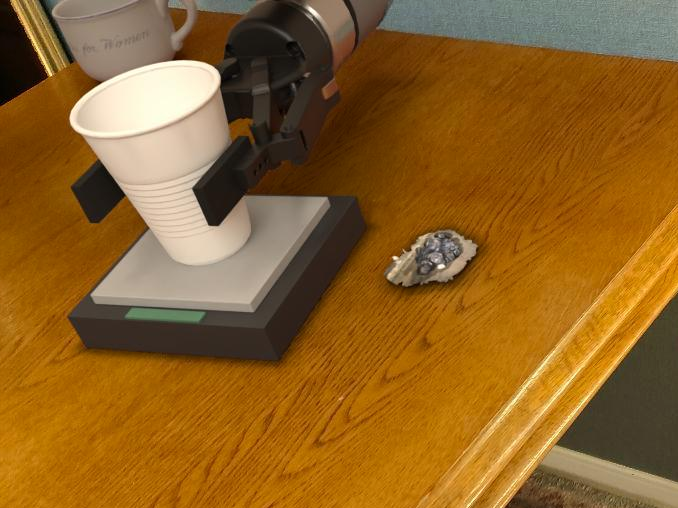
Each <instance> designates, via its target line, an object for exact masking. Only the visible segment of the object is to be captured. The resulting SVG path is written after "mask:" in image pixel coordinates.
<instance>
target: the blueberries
mask: <svg viewBox="0 0 678 508" xmlns="http://www.w3.org/2000/svg"><path fill="white" fill-rule="evenodd" d="M415 241H416V242H415V243H413V244H411V245H410V249H411V250H410V251H406V250H405V249H404V248H402V249H401V250H403V251H402V252H403V253H401V255H400V257H399V256H396V255H393V256H392V257H391V259H393V261H394V262H391V264H390V266H387V268H385V271H384V272H383V273H382V274H383V275H384V276H385V279H387V280H388V281H390V282H391V283H392V284H394V285H396V286H398V285H399V284H400V283H402V284H401V285H402V286H403V287H405V288H406V287H409V286H410V287H411V286H413V285H415V284H420V286H422V285H423V284H429V282H432V281H437V282H438V283H439V282H440V283H443V282H444V283H447V282H448V281H449V280H450V281H452V280H454V278H453V276H455V275H458V273H460V272H461V271H462V270H463V269H464V267H465V266H466V265H467V261H468V260H469V261H472V258H473V257H475V256H477V255H476V254H477V248H478V247H479V245H477V244H476V243H473V239H468V238H467V239H465V237H464V235H461V234H459V233H458V232H456V231H455V230H452V229H445V230H440V229H439V230H437V231H436V232H428V233H426V234H424V235H421V236H418V239H415Z"/></svg>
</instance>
